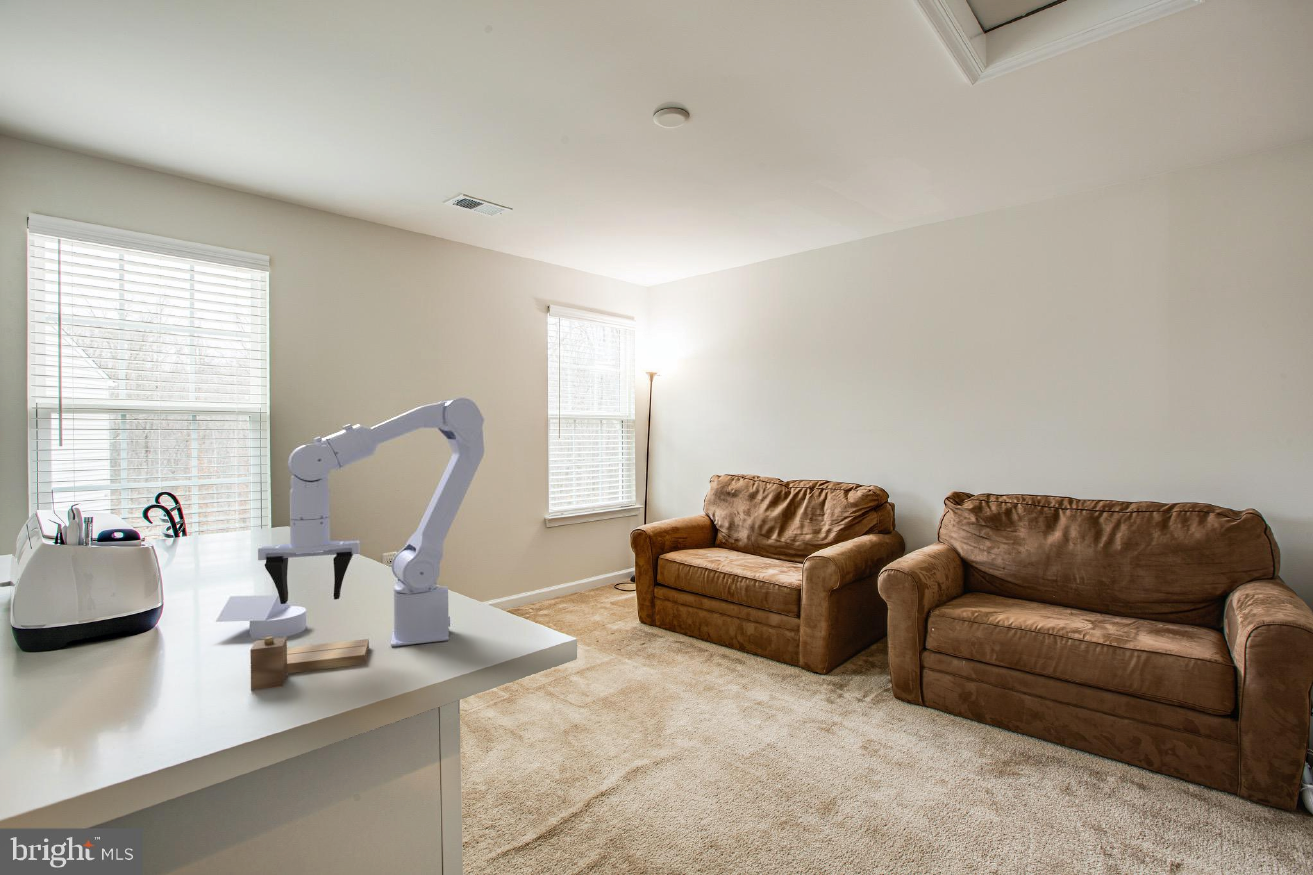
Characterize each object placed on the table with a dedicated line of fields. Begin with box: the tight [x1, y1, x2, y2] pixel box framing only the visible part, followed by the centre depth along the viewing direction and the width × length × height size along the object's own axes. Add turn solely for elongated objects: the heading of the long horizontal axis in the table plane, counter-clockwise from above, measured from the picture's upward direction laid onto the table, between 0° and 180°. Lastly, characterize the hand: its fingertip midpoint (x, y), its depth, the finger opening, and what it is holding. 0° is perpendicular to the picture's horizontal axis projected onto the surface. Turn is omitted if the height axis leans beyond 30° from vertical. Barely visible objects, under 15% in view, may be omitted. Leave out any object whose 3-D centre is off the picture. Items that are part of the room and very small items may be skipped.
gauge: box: [249, 636, 288, 692], centre depth 94 cm, size 4×9×7 cm, turn 23°
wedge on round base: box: [215, 594, 307, 640], centre depth 116 cm, size 9×7×13 cm
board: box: [287, 638, 370, 674], centre depth 101 cm, size 14×8×2 cm, turn 110°
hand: (310, 600), depth 103 cm, fingers open, 7 cm apart
